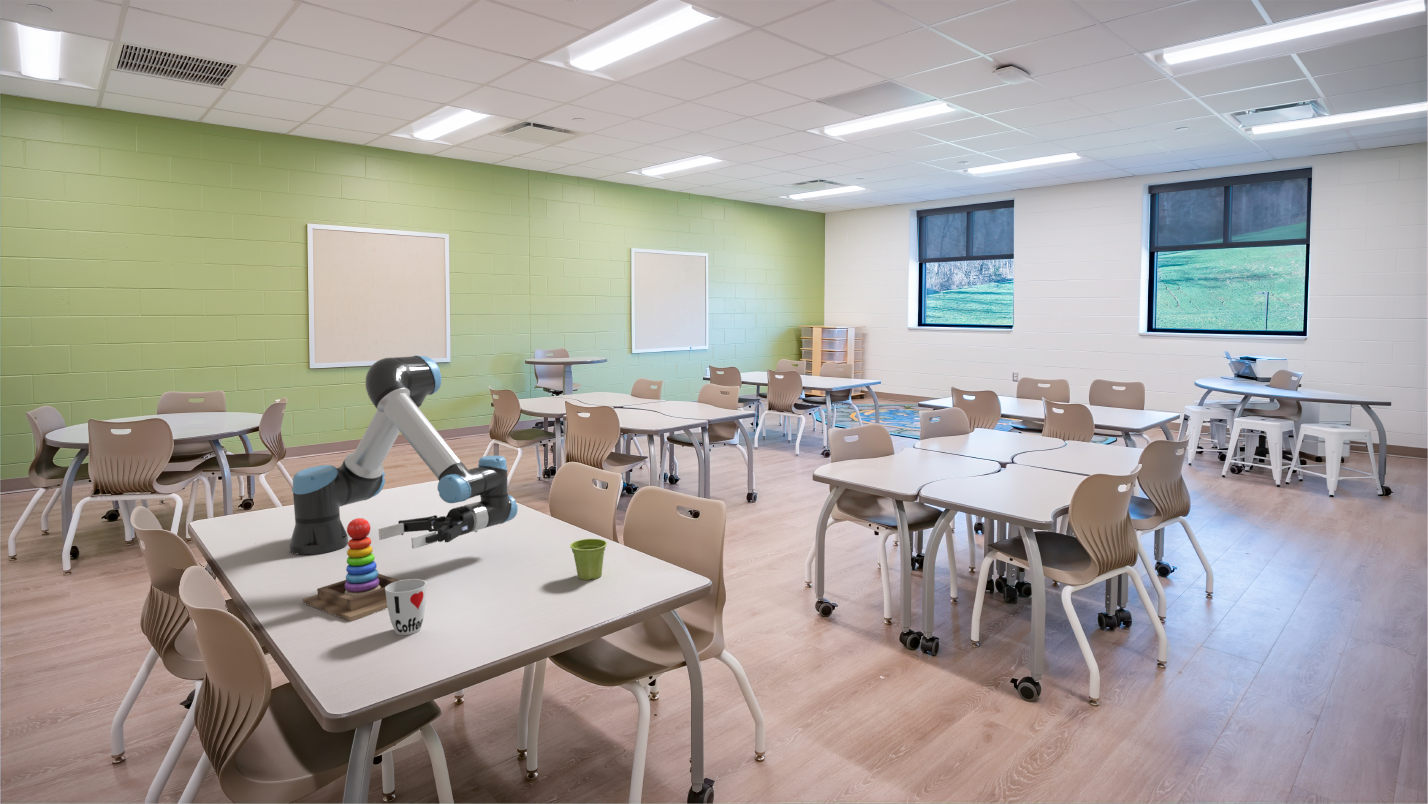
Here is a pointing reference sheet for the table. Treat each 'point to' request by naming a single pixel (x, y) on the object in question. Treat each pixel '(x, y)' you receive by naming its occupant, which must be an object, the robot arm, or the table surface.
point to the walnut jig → (350, 600)
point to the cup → (406, 605)
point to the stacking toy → (360, 560)
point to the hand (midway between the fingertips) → (395, 538)
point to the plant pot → (589, 557)
